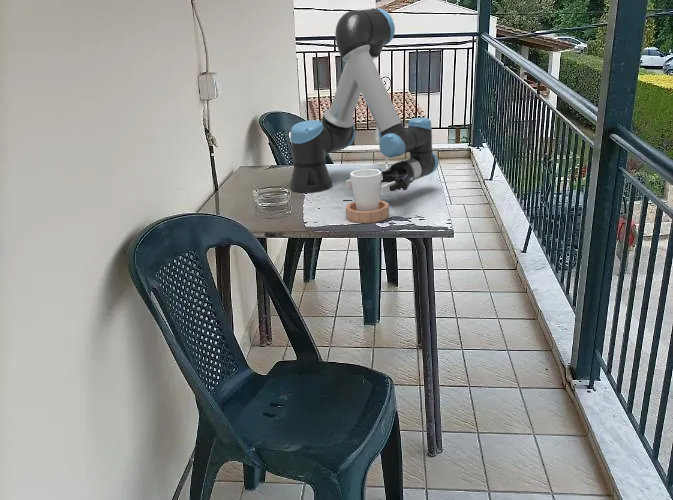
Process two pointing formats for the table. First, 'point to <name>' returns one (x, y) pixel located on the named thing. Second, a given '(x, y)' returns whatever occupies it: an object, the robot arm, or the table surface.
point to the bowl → (367, 213)
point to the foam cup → (366, 188)
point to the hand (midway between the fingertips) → (363, 188)
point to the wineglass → (378, 137)
